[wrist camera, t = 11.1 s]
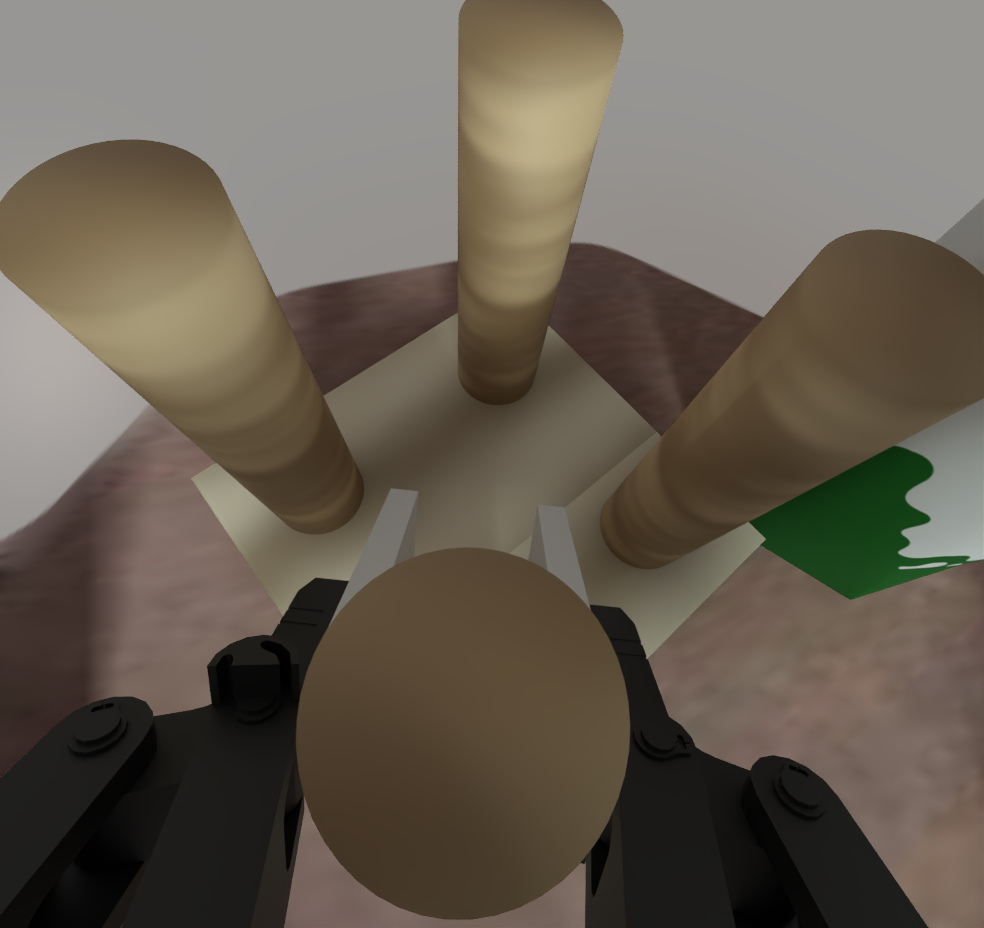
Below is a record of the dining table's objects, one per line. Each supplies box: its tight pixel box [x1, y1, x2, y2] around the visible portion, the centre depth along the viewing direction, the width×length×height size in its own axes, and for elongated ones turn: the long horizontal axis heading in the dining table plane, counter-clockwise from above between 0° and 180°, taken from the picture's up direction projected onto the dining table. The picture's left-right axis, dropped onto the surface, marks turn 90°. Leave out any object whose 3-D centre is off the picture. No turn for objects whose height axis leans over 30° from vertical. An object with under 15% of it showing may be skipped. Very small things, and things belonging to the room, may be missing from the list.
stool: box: [0, 0, 984, 659], centre depth 15 cm, size 16×16×16 cm
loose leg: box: [296, 547, 630, 919], centre depth 11 cm, size 3×3×13 cm
